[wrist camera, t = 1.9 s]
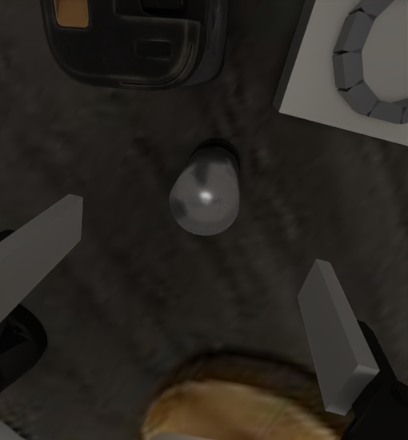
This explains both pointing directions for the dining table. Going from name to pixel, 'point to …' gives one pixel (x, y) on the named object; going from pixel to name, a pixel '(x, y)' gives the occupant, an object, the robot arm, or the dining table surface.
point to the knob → (208, 189)
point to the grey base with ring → (349, 67)
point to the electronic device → (137, 41)
